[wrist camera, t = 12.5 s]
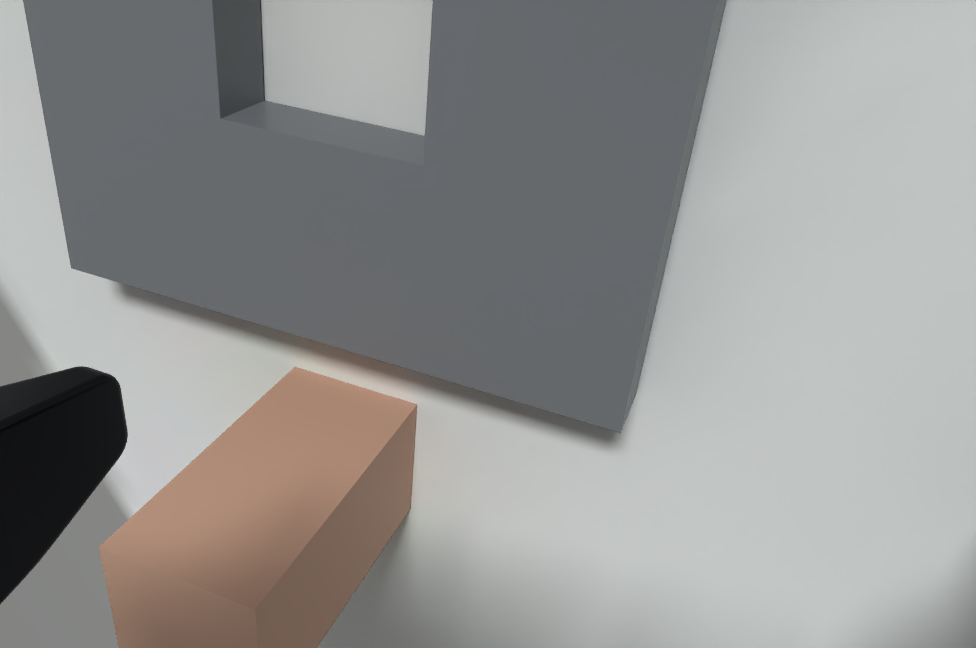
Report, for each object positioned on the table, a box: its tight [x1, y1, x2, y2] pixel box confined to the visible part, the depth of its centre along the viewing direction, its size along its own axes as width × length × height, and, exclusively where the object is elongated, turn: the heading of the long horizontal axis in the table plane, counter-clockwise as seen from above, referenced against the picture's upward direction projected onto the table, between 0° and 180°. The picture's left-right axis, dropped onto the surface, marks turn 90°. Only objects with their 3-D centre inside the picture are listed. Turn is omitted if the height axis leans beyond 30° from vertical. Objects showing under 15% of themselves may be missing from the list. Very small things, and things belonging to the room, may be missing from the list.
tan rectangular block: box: [99, 367, 417, 648], centre depth 22 cm, size 4×4×8 cm
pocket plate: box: [23, 0, 726, 433], centre depth 18 cm, size 16×16×2 cm
